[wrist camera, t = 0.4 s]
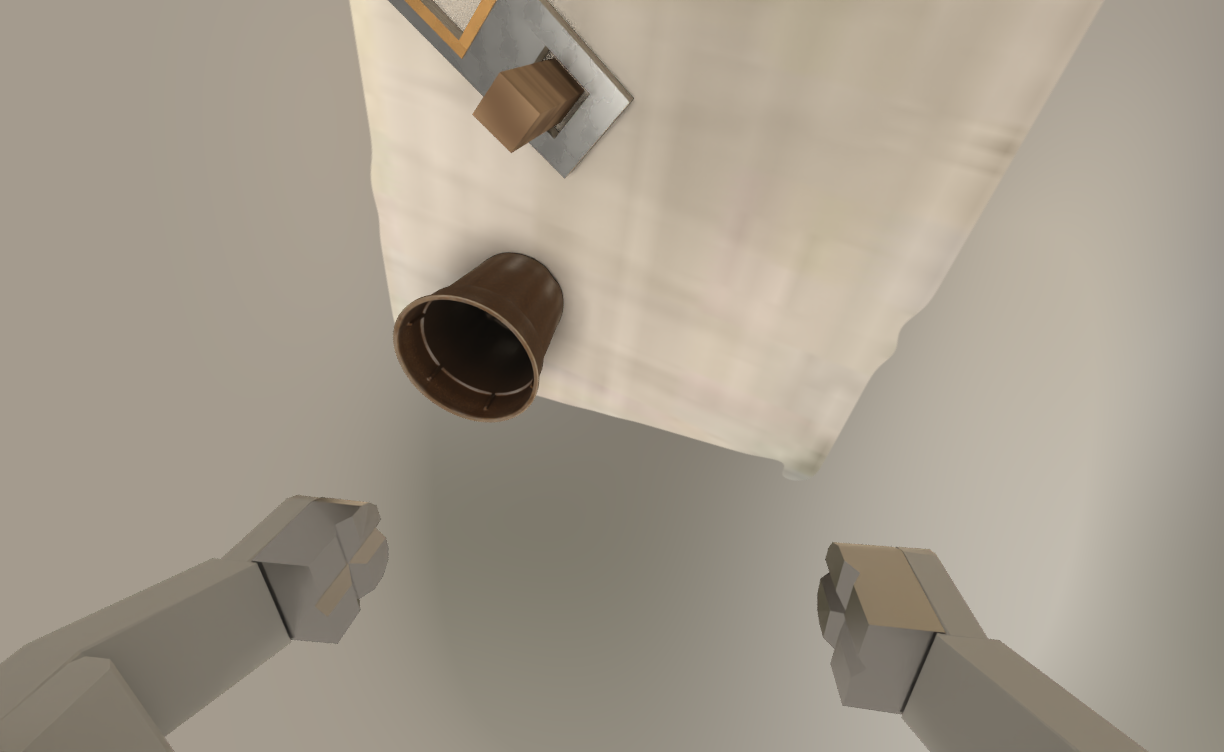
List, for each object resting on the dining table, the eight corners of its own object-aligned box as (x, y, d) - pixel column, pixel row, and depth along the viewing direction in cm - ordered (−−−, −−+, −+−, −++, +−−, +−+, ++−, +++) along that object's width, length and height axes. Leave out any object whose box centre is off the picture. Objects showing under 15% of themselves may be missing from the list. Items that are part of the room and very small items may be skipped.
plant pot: (470, 340, 71) (411, 411, 58) (449, 230, 61) (374, 287, 49) (579, 354, 69) (543, 433, 56) (576, 242, 59) (531, 306, 46)
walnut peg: (554, 57, 48) (499, 72, 37) (584, 90, 49) (540, 114, 38) (530, 91, 50) (472, 114, 39) (560, 122, 52) (511, 152, 40)
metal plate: (434, -128, 42) (418, -135, 40) (633, 98, 49) (629, 102, 47) (385, -17, 47) (369, -18, 45) (570, 172, 54) (563, 179, 52)
